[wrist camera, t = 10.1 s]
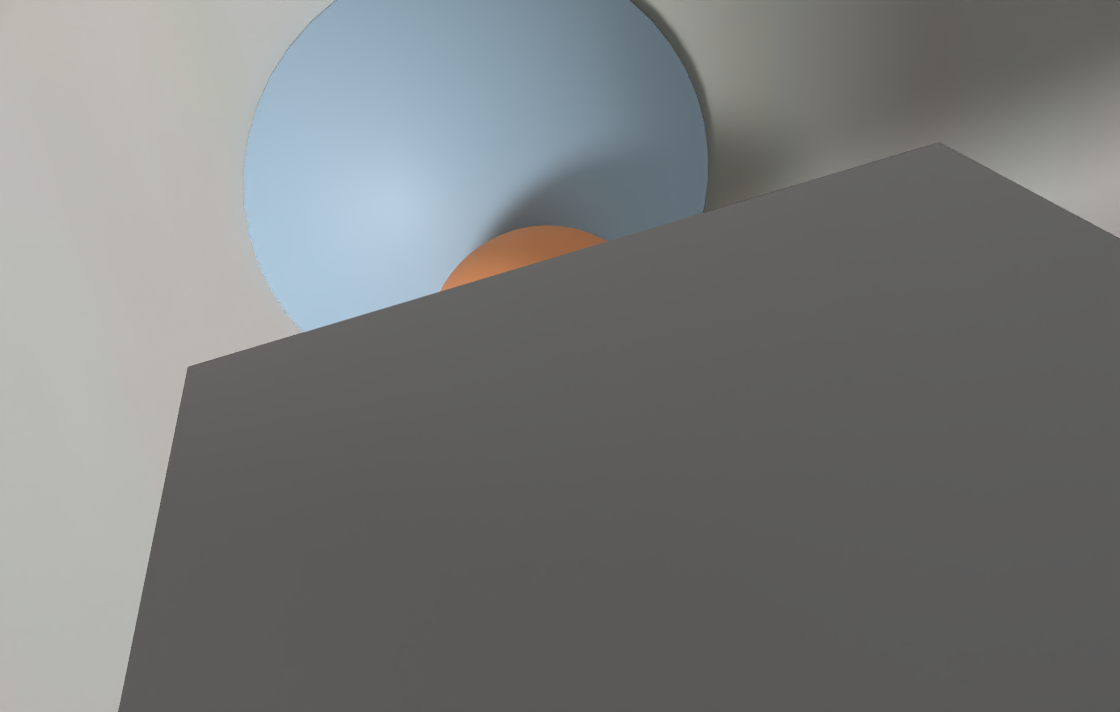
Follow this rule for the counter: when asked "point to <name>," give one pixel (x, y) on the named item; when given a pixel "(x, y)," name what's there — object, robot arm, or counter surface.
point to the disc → (460, 142)
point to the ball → (519, 251)
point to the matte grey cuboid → (673, 475)
